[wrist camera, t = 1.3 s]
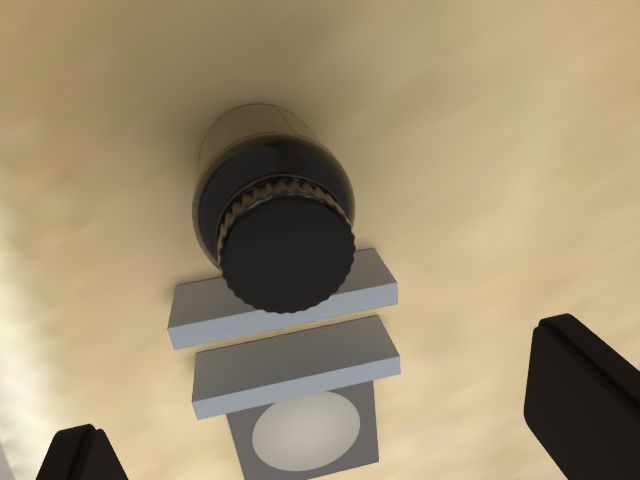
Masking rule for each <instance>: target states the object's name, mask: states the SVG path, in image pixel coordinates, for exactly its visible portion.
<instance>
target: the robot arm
mask: <svg viewBox="0 0 640 480" xmlns="http://www.w3.org/2000/svg"><path fill="white" fill-rule="evenodd" d="M524 418H525V421H526V423H527V425H528V427H529V428H530V430H531V431H532V432H533V434H534V435H535V436H536V438H537V439H538V440H539V442H540V443H541V444H542V446H543V447H544V448H545V450H546V451H547V452H548V454H549V455H550V456H551V458H552V459H553V460H554V462H555V463H556V464H557V466H558V467H559V468H560V470H561V471H562V472H563V474H564V475H565V476H566V478H567V479H568V480H640V371H639V370H637V369H636V368H635V367H634V366H633V365H631V364H630V363H629V362H628V361H627V360H625V359H624V358H623V357H622V356H621V355H619V354H618V353H617V352H616V351H615V350H613V349H612V348H611V347H610V346H609V345H607V344H606V343H605V342H604V341H603V340H601V339H600V338H599V337H598V336H597V335H595V334H594V333H593V332H592V331H591V330H590V329H588V328H587V327H586V326H585V325H584V324H582V323H581V322H580V321H579V320H578V319H576V318H575V317H574V316H572V315H571V314H567V313H566V314H562V315H557V316H553V317H549V318H544V319H541V320H540V322H539V325H538V327H535V329H534V331H533V337H532V345H531V353H530V361H529V370H528V378H527V386H526V395H525V403H524ZM36 480H128V478H127V476H126V474H125V472H124V470H123V468H122V466H121V464H120V462H119V460H118V458H117V456H116V454H115V452H114V450H113V448H112V446H111V444H110V442H109V440H108V438H107V436H106V434H105V432H104V431H103V430H102V429H98V430H96V429H95V428H94V426H93V425H91V424H86V425H81V426H77V427H73V428H69V429H64V430H60V431H58V432H57V433H56V434H55V436H54V438H53V440H52V442H51V444H50V447H49V449H48V451H47V454H46V456H45V458H44V461H43V463H42V466H41V468H40V470H39V473H38V475H37V477H36Z"/></svg>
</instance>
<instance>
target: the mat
mask: <svg viewBox="0 0 640 480" xmlns="http://www.w3.org/2000/svg"><path fill="white" fill-rule="evenodd" d="M226 415H227V419H228V422H229V426H230V429H231V433H232V436H233V440H234V443H235V447H236V450H237V454H238V457H239V461H240V464H241V468H242V471H243V475H244V478H245V480H308V479H312V478H316V477H320V476H324V475H328V474H332V473H336V472H340V471H344V470H348V469H352V468H356V467H360V466H364V465H368V464H372V463H376V462H379V455H378V442H377V429H376V415H375V402H374V389H373V380H372V381H367V382H363V383H358V384H354V385H350V386H345V387H341V388H336V389H332V390H328V391H323V392H319V393H314V394H310V395H306V396H301V397H297V398H292V399H288V400H284V401H279V402H275V403H270V404H266V405H262V406H257V407H253V408H248V409H244V410H240V411H235V412H231V413H226Z"/></svg>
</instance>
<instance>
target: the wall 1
mask: <svg viewBox="0 0 640 480" xmlns="http://www.w3.org/2000/svg"><path fill="white" fill-rule="evenodd" d="M395 304H398V293H397V282H396V280H395V279H394V277H393V276H392V274H391V273H390V271H389V270H388V268H387V267H386V265H385V264H384V262H383V261H382V259H381V258H380V256H379V255H378V253H377V252H376V250H375V249H374V248H372V249H367V250H362V251H356V252H355V253H354V262H353V264H352V265H351V272H350V273H349V274H348V275H347V276H346V280H345V282H344V283H343V284H342V285H341V286H340V287H339V289H338V291H337V292H336V293H334V294H332V295H331V296H330V297H329V298H328V300H325V301H322V302H321V303H320V304H319V305H318V306H315V307H310V308H309V309H308V310H306V311H298V312H296V313H293V314H291V313H284V314H277V313H275V312H273V313H267V312H265V311H264V310H256V309H255V308H253V307H252V306H251V305H247V304H245V303H244V302H243V300H242V299H240V298H237V297H235V295H234V292H233V291H232V290H231V289H229V288H228V287H227V284H226V280H225V279H224V278H223V277H220V278H214V279H209V280H204V281H198V282H193V283H188V284H183V285H177V286H176V288H175V293H174V298H173V303H172V308H171V313H170V318H169V323H168V328H167V329H168V332H169V335H170V338H171V341H172V344H173V347H174V350H178V349H182V348H187V347H192V346H197V345H202V344H207V343H211V342H216V341H221V340H226V339H231V338H236V337H240V336H245V335H250V334H255V333H260V332H264V331H269V330H274V329H279V328H284V327H289V326H293V325H298V324H303V323H308V322H313V321H318V320H322V319H327V318H332V317H337V316H342V315H347V314H351V313H356V312H361V311H366V310H371V309H376V308H380V307H385V306H390V305H395Z"/></svg>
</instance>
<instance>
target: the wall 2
mask: <svg viewBox="0 0 640 480" xmlns="http://www.w3.org/2000/svg"><path fill="white" fill-rule="evenodd" d="M398 374H401V373H400V355H399V354H398V352H397V350H396V348H395V346H394V344H393V342H392V340H391V338H390V337H389V335H388V333H387V331H386V329H385V327H384V325H383V323H382V321H381V320H380V318H379V316H378V315H377V316H372V317H367V318H362V319H358V320H353V321H348V322H343V323H339V324H334V325H329V326H324V327H319V328H315V329H310V330H305V331H300V332H296V333H291V334H286V335H281V336H276V337H272V338H267V339H262V340H257V341H252V342H248V343H243V344H238V345H233V346H229V347H224V348H219V349H214V350H209V351H205V352H200V353H196V362H195V373H194V383H193V394H192V405H193V408H194V411H195V414H196V417H197V420H200V419H204V418H209V417H213V416H218V415H222V414H226V413H231V412H235V411H240V410H244V409H248V408H253V407H257V406H262V405H266V404H270V403H275V402H279V401H284V400H288V399H292V398H297V397H301V396H306V395H310V394H314V393H319V392H323V391H328V390H332V389H336V388H341V387H345V386H350V385H354V384H358V383H363V382H367V381H372V380H376V379H380V378H385V377H389V376H394V375H398Z"/></svg>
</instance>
